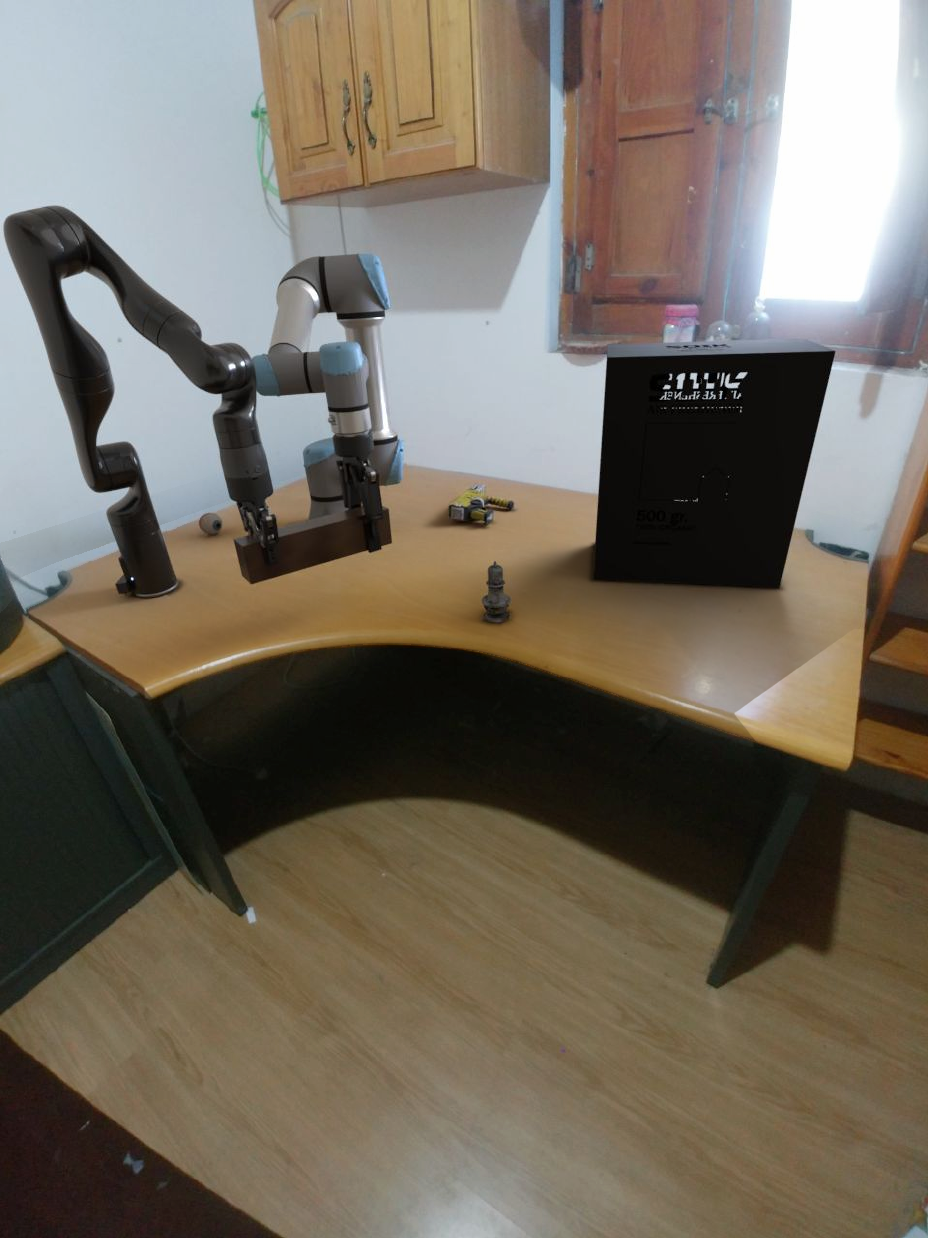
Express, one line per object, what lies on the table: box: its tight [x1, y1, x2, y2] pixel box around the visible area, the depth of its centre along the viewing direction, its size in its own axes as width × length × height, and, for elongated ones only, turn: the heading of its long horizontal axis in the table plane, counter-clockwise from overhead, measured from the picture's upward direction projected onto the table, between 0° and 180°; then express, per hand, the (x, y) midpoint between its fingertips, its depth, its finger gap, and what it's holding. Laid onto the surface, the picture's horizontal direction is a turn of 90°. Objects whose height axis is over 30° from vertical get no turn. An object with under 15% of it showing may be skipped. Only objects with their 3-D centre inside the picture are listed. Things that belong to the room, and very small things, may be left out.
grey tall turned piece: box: [480, 560, 512, 623], centre depth 117 cm, size 6×6×12 cm
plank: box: [233, 505, 393, 585], centre depth 118 cm, size 30×5×8 cm, turn 127°
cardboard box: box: [592, 337, 836, 589], centre depth 125 cm, size 38×20×45 cm, turn 78°
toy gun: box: [447, 482, 515, 525], centre depth 172 cm, size 5×24×15 cm
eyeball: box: [198, 512, 223, 536], centre depth 167 cm, size 6×6×6 cm
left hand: (266, 559), depth 113 cm, fingers closed on plank, 5 cm apart
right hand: (368, 546), depth 125 cm, fingers closed on plank, 5 cm apart
